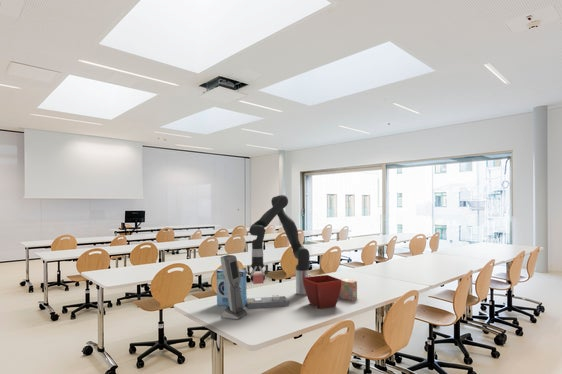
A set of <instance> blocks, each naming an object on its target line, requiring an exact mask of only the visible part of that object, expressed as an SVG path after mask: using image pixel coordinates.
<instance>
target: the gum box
mask: <svg viewBox="0 0 562 374" xmlns="http://www.w3.org/2000/svg"><path fill="white" fill-rule="evenodd" d="M239 273H240V277H241V282H240V284H239V289H240V294H241V299H242V304H243V308H245V307H247V298H248V297H247V296H248V295H247V269H239ZM224 279H225V278H224V274H223V270H222V268H218V269H217V270H216V305H217V306H224V307H225V306H226V307H228V306H229V301H228V295H227V286H226V282H225V281H224Z"/></svg>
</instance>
